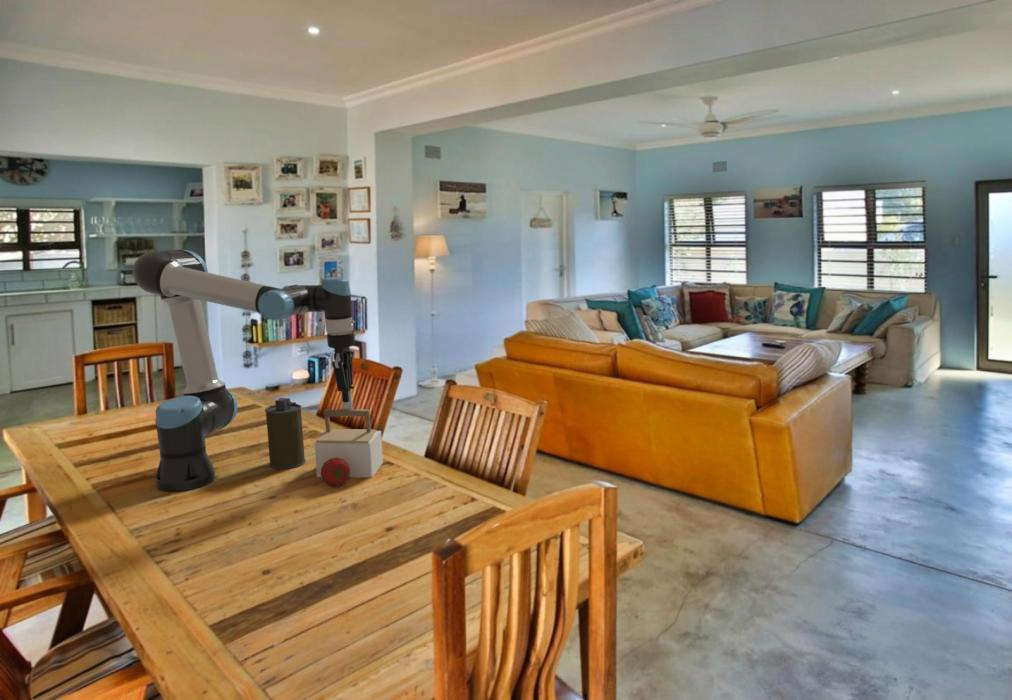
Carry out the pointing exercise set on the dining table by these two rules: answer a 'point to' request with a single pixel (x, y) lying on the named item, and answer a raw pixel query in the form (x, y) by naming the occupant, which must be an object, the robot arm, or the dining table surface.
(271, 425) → the canister
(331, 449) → the carton
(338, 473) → the tomato
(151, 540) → the dining table surface
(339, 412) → the flap
